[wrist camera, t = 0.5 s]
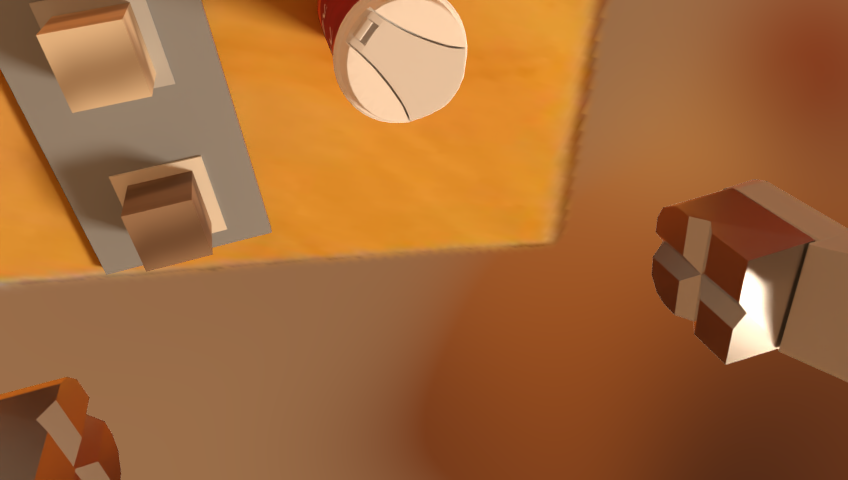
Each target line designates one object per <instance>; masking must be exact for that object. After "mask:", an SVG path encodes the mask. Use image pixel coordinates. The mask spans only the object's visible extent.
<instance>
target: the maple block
mask: <svg viewBox="0 0 848 480" xmlns="http://www.w3.org/2000/svg"><path fill="white" fill-rule="evenodd" d="M36 36H37V39H38V41H39V43H40V45H41V47H42V49H43V51H44V54H45V56H46V58H47V60H48V62H49V64H50V66H51V69H52V71H53V73H54V75H55V77H56V79H57V81H58V83H59V86H60V88H61V90H62V92H63V94H64V96H65V98H66V101H67V103H68V105H69V107H70V109H71V111H72V113H75V112H80V111H84V110H89V109H94V108H99V107H104V106H108V105H113V104H118V103H123V102H128V101H132V100H137V99H142V98H147V97H152V94H153V88H154V83H155V78H156V71H155V69H154V66H153V63H152V61H151V58H150V55H149V53H148V50H147V47H146V44H145V42H144V39H143V36H142V34H141V31H140V28H139V26H138V23H137V20H136V17H135V15H134V12H133V9H132V7H131V4H130V2H129V3H123V4H118V5H112V6H107V7H101V8H95V9H90V10H84V11H79V12H73V13H68V14H62V15H57V16H52V17H51V18H50V19H49V20H48V22H47V23H46V24H45V25H44V26H43V28H42V29H41V30H40V31H39V32H38V33H37V35H36Z"/></svg>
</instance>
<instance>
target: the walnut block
mask: <svg viewBox="0 0 848 480" xmlns="http://www.w3.org/2000/svg"><path fill="white" fill-rule="evenodd" d="M121 218H122V220H123V223H124V225H125V227H126V229H127V231H128V233H129V235H130V238H131V240H132V242H133V244H134V246H135V248H136V250H137V253H138V255H139V257H140V259H141V261H142V263H143V265H144V268H145V270H146V272H147V271H150V270H154V269H158V268H162V267H166V266H170V265H174V264H178V263H182V262H185V261H189V260H193V259H197V258H201V257H205V256H209V255H212V223H211V220H210V217H209V215H208V212H207V209H206V206H205V204H204V201H203V198H202V196H201V193H200V190H199V188H198V185H197V182H196V179H195V177H194V174H193V171H189V172H184V173H180V174H176V175H171V176H167V177H163V178H158V179H154V180H150V181H146V182H141V183H137V184H133V185H128V186H127V190H126V195H125V199H124V204H123V209H122V213H121Z"/></svg>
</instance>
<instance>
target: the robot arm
mask: <svg viewBox="0 0 848 480" xmlns="http://www.w3.org/2000/svg"><path fill="white" fill-rule="evenodd" d="M656 233H657V234H658V235H659V237H660V238H661V239H662V240H663V243H662V244H661V246H660V247H659V249H658V250H657V252H656V253H655V255H654V256H653V263H652V277H653V281H654V284H655V288H656V291H657V293H658V295H659V297H660V298H661V300H662V301H663V303H664V304H665V305H666V306H667V307H668V309H669V310H671V312H672V313H673V314H674V315H677V316H679V317H683V318H685V319H688V320H691V321H694V334H695V335H696V336H697V337H698V338H699V339H700V340H701V341H702V342H703V343H704V344H705V345H706V346H707V347H708V348H709V349H710V350H711V351H712V352H713V353H714V354H715V355H716V356H717V357H718V358H719V359H721V361H722V362H723V363H724V364H725V365H726V364H729V363H733V362H736V361H739V360H742V359H746V358H749V357H752V356H755V355H758V354H762V353H765V352H768V351H771V350H775V349H778V348H779V352H782V353H784V354H786V355H788V356H790V357H793V358H795V359H797V360H800V361H802V362H804V363H806V364H808V365H810V366H813V367H815V368H817V369H819V370H822V371H824V372H826V373H828V374H831V375H833V376H835V377H837V378H840V379H842V380H844V381H846V382H848V228H846V227H844V226H842V225H841V224H839V223H837V222H836V221H834V220H832V219H830V218H829V217H827V216H825V215H823V214H822V213H820V212H818V211H817V210H815V209H813V208H812V207H810V206H808V205H806V204H805V203H803V202H801V201H800V200H798V199H796V198H794V197H793V196H791V195H789V194H788V193H786V192H784V191H782V190H781V189H779V188H777V187H776V186H774V185H772V184H770V183H769V182H767V181H762V180H756V179H754V180H750V181H747V182H744V183H741V184H737V185H734V186H731V187H728V188H725V189H723V190H722V191H718V192H715V193H711V194H708V195H704V196H701V197H698V198H695V199H691V200H687V201H684V202H681V203H677V204H673V205H670V206H667V207H663V209H662V210H661V212H660V214H659V216H658V219H657V226H656ZM88 403H89V396H88V394H87V393H86V392H85V390H84V389H83V387H82V386H81V384H80V383H79V382H78V380H77V379H74V378H70V377H64V378H61V379H57V380H53V381H50V382H46V383H42V384H38V385H34V386H30V387H26V388H23V389H19V390H15V391H11V392H8V393H4V394H0V480H121V479H120V478H121V468H120V460H119V451H118V448H117V445H116V443H115V440H114V437H113V434H112V433H111V431H110V429H109V428H108V426H107V424H106V423H105V421H103V420H100V419H98V418H95V417H93V416H90V415H87V414H86V413H87V408H88Z"/></svg>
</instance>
